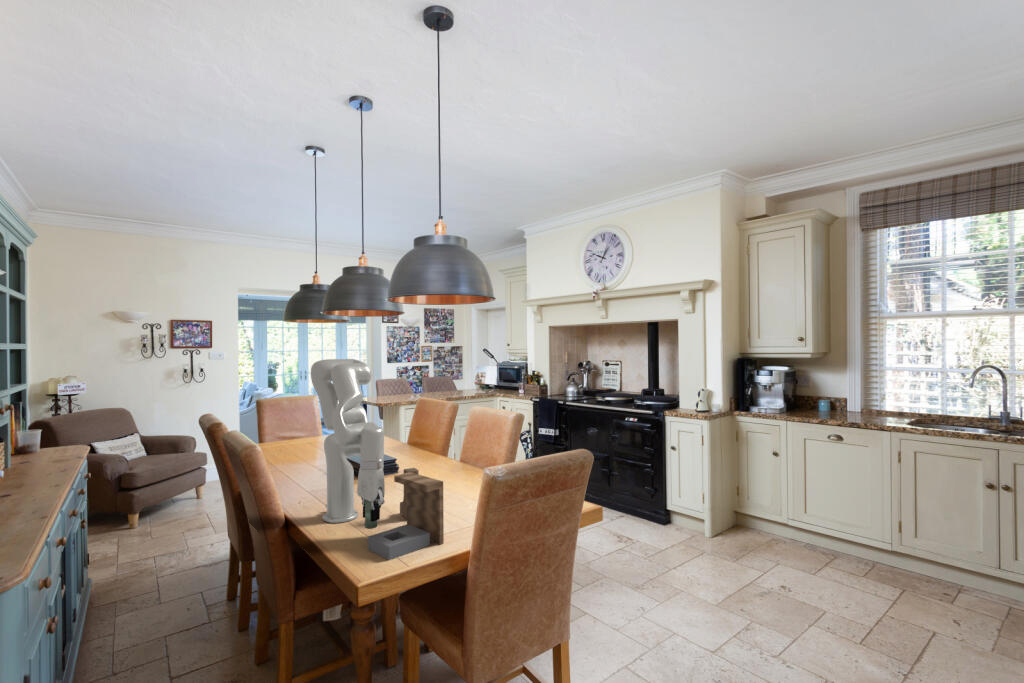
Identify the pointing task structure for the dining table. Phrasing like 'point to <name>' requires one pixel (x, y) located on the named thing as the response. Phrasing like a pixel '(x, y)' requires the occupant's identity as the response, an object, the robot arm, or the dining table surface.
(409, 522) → the brown notched wall
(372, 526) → the peg
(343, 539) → the dining table surface
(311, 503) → the dining table surface
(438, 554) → the dining table surface
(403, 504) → the wooden block
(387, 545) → the socket block
